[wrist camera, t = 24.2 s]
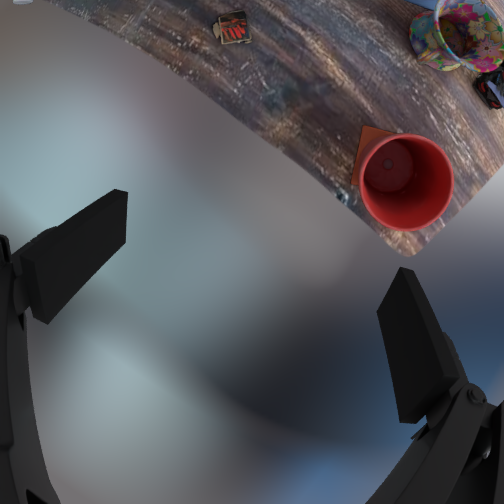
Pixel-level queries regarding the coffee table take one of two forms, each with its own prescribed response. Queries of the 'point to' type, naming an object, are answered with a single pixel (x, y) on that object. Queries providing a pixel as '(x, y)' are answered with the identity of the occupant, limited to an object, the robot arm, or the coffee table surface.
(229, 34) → the matchbox
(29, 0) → the pill bottle
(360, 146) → the rust mat
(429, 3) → the blue mat
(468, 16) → the mug
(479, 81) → the toy car
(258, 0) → the coffee table surface
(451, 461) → the robot arm
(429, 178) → the flower pot
